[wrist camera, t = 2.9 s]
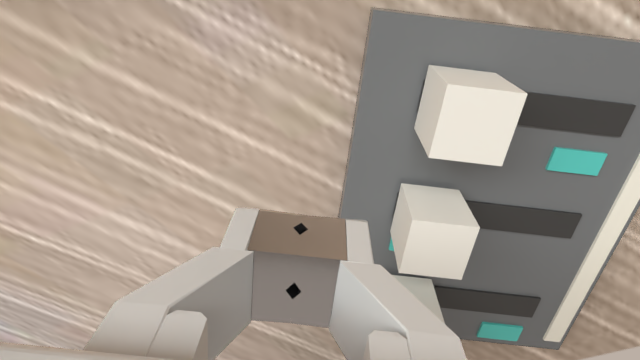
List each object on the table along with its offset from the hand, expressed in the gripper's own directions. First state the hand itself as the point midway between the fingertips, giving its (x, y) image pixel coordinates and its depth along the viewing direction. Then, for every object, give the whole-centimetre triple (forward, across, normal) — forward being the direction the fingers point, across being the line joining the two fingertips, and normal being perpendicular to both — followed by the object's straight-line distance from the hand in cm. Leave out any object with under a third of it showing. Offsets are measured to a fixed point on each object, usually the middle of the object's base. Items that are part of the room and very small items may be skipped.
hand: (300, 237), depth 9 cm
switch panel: (+15, -11, +7) cm, 20 cm away
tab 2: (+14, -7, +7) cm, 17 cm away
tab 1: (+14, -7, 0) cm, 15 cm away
